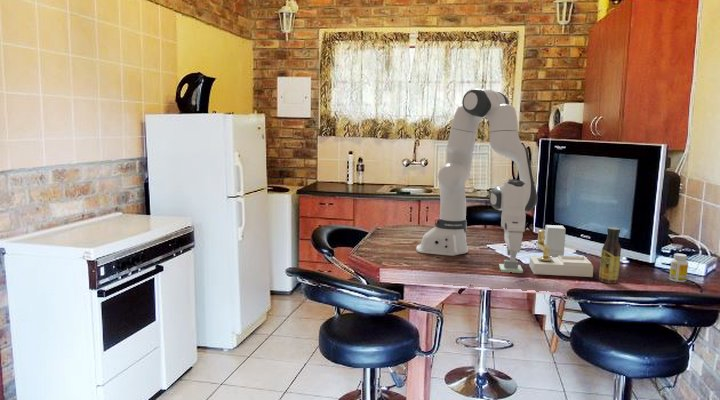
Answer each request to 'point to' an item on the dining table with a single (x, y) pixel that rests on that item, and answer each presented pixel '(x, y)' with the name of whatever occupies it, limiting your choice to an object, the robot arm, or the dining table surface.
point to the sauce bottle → (610, 257)
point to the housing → (562, 266)
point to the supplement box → (555, 239)
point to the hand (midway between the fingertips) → (511, 258)
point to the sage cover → (510, 267)
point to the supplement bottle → (679, 268)
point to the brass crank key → (543, 246)
